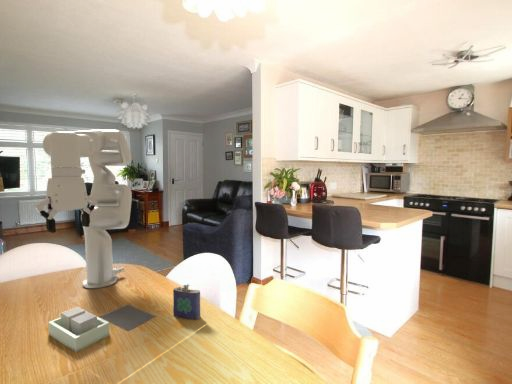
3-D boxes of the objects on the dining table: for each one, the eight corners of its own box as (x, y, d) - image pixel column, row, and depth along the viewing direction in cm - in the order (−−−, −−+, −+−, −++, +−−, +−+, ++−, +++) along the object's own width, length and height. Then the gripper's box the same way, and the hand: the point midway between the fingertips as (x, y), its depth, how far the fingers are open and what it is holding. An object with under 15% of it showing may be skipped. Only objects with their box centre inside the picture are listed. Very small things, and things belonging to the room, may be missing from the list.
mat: (127, 305, 100) (127, 304, 100) (156, 317, 92) (156, 316, 92) (99, 317, 92) (99, 316, 92) (128, 332, 84) (128, 331, 84)
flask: (201, 317, 92) (201, 284, 92) (197, 322, 90) (196, 288, 89) (176, 313, 95) (175, 281, 94) (171, 317, 92) (170, 284, 91)
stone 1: (78, 324, 87) (77, 306, 86) (86, 328, 84) (85, 310, 84) (61, 331, 83) (60, 312, 82) (69, 336, 80) (68, 317, 80)
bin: (82, 321, 90) (81, 308, 89) (109, 336, 82) (109, 322, 82) (49, 335, 82) (48, 322, 82) (76, 353, 74) (75, 338, 74)
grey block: (88, 330, 83) (87, 311, 83) (97, 335, 81) (96, 316, 81) (71, 338, 80) (70, 318, 79) (80, 343, 77) (79, 323, 77)
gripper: (88, 172, 97) (91, 223, 99) (27, 173, 83) (30, 233, 84) (101, 173, 94) (103, 225, 95) (39, 174, 79) (42, 236, 80)
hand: (69, 229), depth 90 cm, fingers open, 9 cm apart
